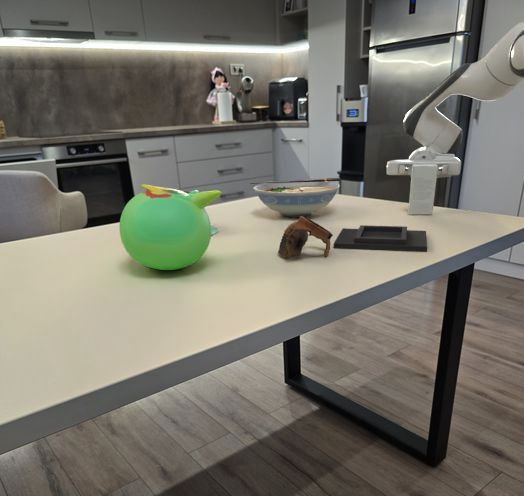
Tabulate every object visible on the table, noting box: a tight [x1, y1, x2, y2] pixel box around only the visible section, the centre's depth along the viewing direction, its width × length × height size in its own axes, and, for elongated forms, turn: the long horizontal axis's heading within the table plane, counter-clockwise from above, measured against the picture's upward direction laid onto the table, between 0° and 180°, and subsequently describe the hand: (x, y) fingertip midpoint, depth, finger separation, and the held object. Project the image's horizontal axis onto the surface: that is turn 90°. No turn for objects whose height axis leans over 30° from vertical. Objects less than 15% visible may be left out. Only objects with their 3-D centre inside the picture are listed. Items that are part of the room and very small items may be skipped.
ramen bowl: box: [249, 177, 342, 218], centre depth 128 cm, size 25×23×8 cm
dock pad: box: [333, 224, 428, 253], centre depth 100 cm, size 18×14×2 cm
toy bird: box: [119, 183, 222, 271], centre depth 85 cm, size 18×17×15 cm
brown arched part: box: [277, 216, 334, 260], centre depth 91 cm, size 12×10×8 cm
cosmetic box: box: [407, 164, 438, 216], centre depth 123 cm, size 6×4×12 cm
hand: (423, 170), depth 132 cm, fingers open, 8 cm apart
